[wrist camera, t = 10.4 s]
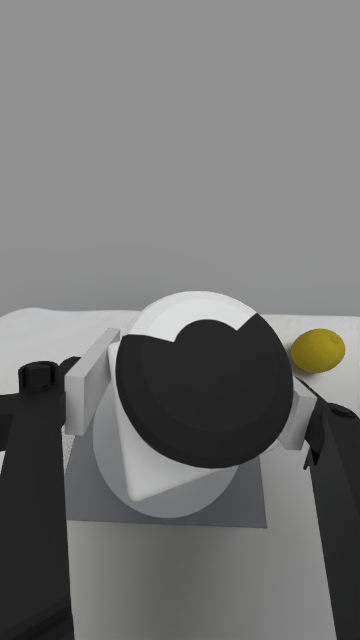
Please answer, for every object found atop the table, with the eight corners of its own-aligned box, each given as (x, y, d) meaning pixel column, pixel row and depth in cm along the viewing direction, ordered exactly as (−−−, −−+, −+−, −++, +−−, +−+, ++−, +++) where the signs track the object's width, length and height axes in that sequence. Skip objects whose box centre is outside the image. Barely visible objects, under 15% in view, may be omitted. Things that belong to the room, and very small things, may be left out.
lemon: (298, 338, 36) (333, 312, 29) (324, 368, 33) (369, 347, 27) (273, 354, 34) (305, 329, 27) (299, 386, 32) (340, 369, 25)
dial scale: (234, 363, 32) (249, 348, 27) (245, 514, 24) (270, 530, 19) (108, 351, 31) (100, 333, 26) (71, 506, 22) (50, 521, 18)
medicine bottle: (234, 448, 16) (376, 443, 6) (137, 483, 15) (109, 558, 4) (202, 358, 20) (260, 257, 9) (120, 378, 18) (81, 282, 8)
